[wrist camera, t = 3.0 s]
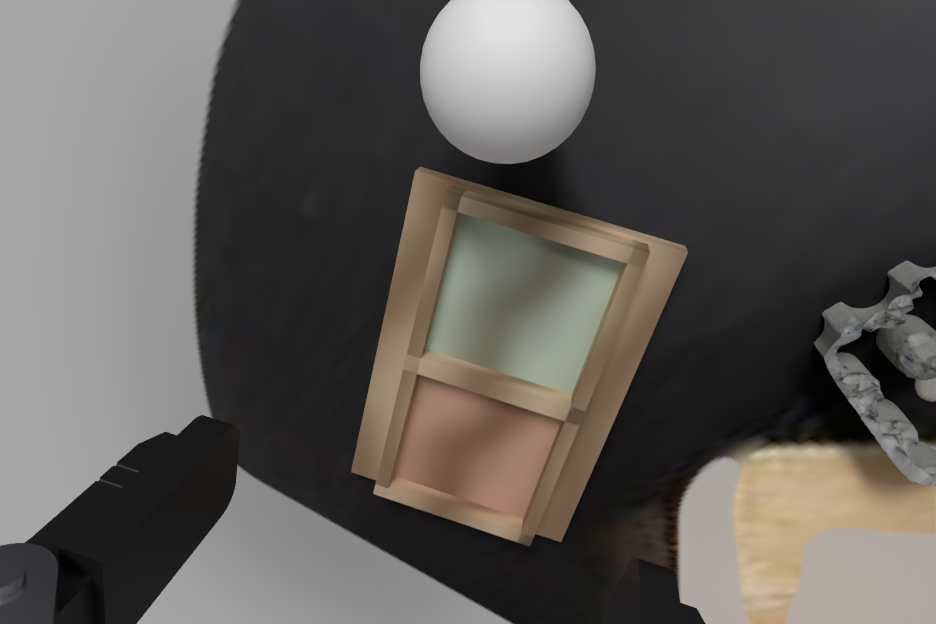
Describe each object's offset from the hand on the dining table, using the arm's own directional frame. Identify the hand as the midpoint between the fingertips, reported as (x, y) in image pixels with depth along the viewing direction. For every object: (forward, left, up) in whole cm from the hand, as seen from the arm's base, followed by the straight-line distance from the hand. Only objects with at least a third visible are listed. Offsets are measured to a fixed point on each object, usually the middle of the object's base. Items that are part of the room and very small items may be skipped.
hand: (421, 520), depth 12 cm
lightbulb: (+2, -7, -22) cm, 23 cm away
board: (-1, +9, -22) cm, 24 cm away
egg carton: (-21, +1, -22) cm, 31 cm away
